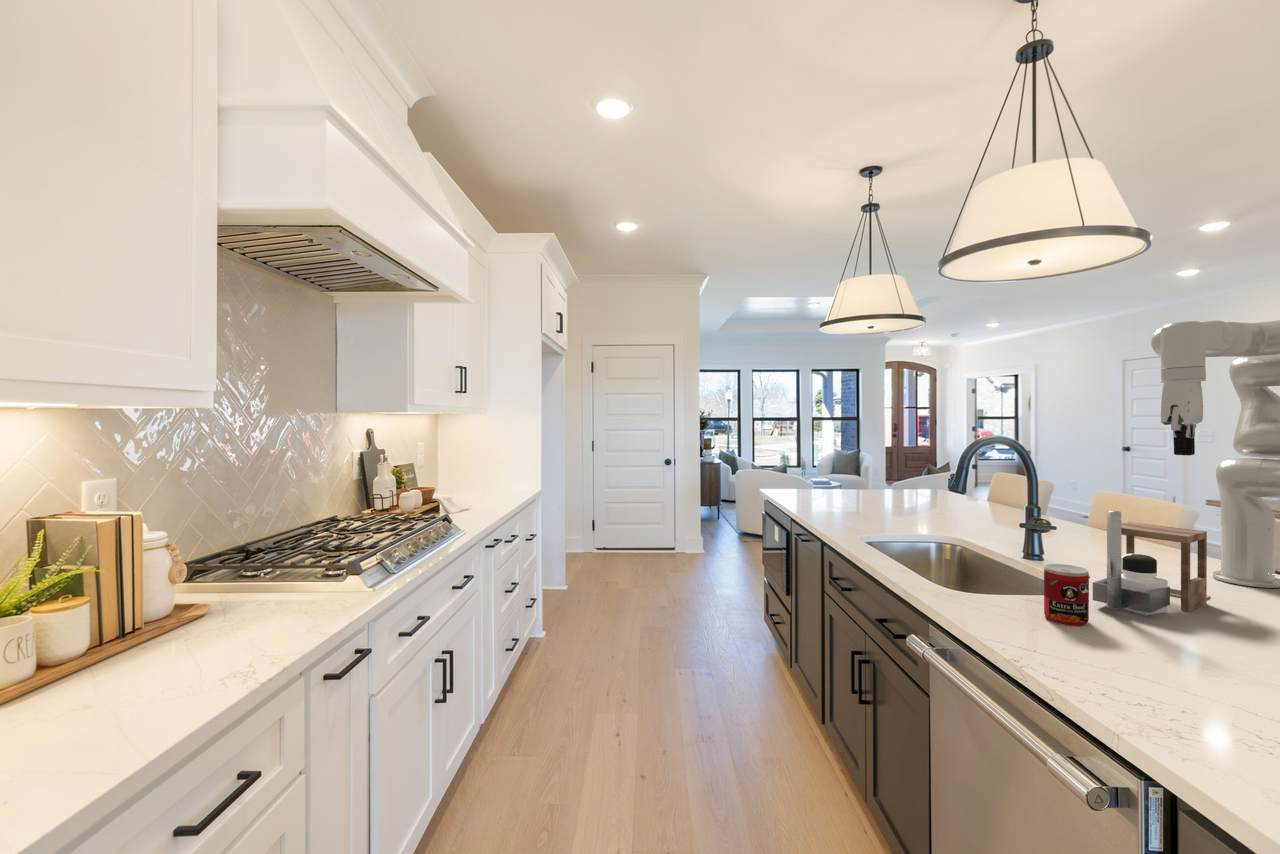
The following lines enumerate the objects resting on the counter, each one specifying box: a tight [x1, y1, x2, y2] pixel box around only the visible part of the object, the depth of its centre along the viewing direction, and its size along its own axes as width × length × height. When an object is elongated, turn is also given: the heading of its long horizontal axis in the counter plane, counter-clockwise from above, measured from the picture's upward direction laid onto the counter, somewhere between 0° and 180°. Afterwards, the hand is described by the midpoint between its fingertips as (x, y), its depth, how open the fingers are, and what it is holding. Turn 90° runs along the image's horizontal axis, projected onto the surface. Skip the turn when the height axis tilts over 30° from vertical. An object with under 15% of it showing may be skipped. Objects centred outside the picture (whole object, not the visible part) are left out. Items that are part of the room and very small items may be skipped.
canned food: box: [1043, 563, 1090, 627], centre depth 122 cm, size 8×8×11 cm
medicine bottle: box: [1121, 553, 1169, 616], centre depth 128 cm, size 7×7×12 cm
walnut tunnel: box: [1121, 521, 1208, 613], centre depth 134 cm, size 11×14×16 cm
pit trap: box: [1170, 587, 1212, 600], centre depth 139 cm, size 6×12×1 cm, turn 30°
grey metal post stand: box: [1092, 510, 1171, 613], centre depth 127 cm, size 14×10×21 cm
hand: (1184, 454), depth 134 cm, fingers closed
